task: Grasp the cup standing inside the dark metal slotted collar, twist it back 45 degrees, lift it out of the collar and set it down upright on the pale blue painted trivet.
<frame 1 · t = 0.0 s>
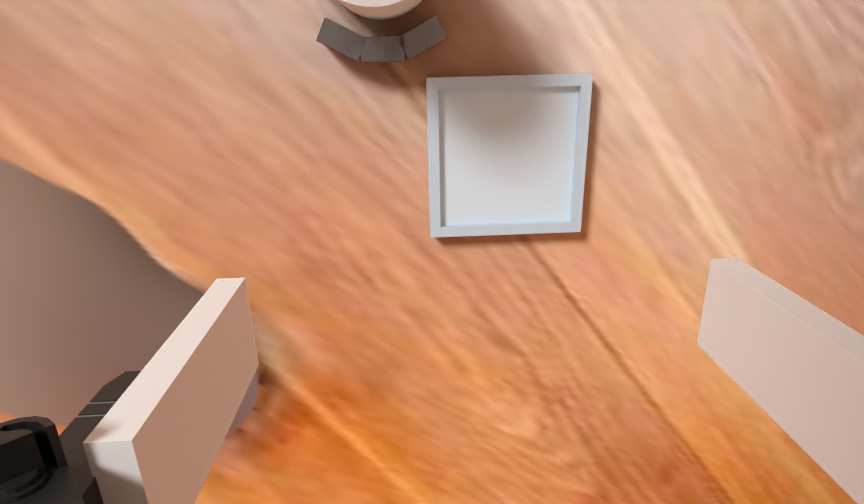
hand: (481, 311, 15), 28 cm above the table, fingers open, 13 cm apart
trivet: (504, 156, 42), on the table
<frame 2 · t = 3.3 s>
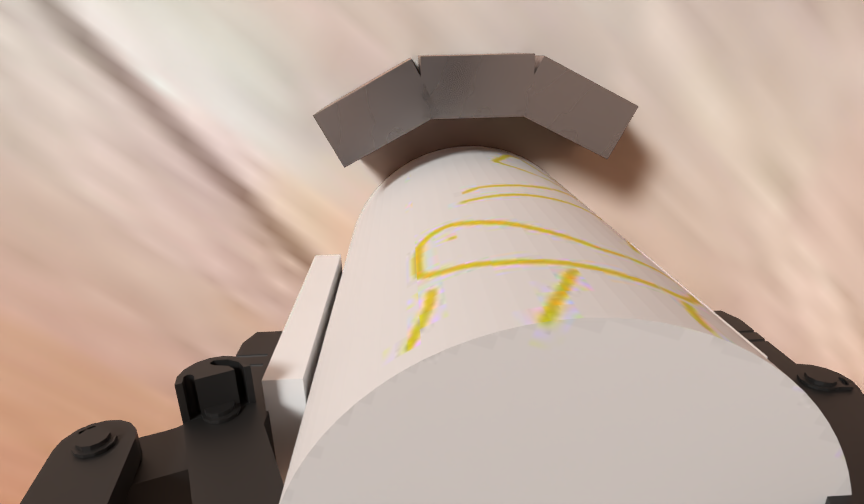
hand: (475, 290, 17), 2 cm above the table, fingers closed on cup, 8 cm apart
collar: (467, 262, 19), on the table
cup: (466, 261, 19), on the table, touching gripper
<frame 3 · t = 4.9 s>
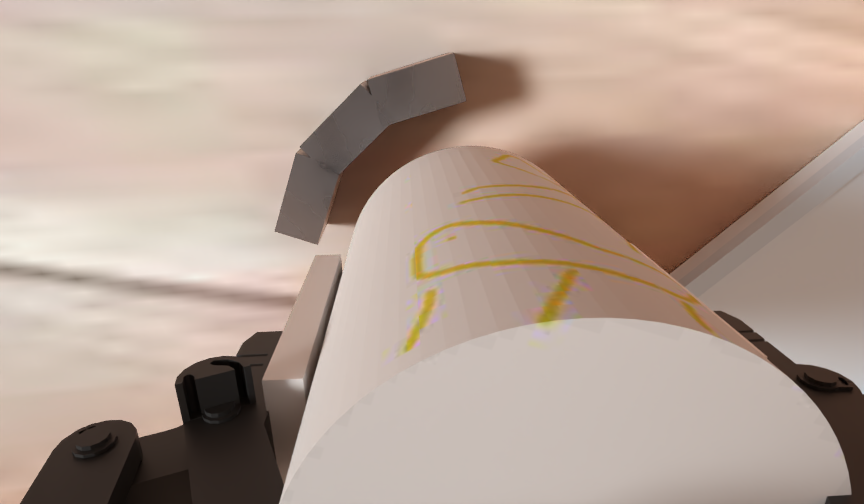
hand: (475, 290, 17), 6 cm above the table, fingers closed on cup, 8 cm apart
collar: (457, 230, 22), on the table
trivet: (808, 308, 25), on the table
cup: (466, 261, 19), point 4 cm above the table, touching gripper
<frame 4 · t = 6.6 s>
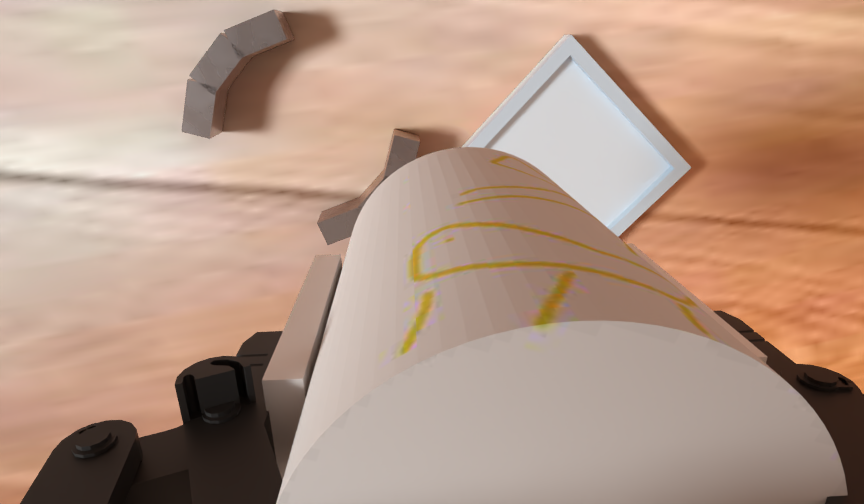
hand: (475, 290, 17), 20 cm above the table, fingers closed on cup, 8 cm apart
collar: (309, 130, 34), on the table
trivet: (558, 170, 36), on the table
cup: (465, 262, 19), point 18 cm above the table, touching gripper
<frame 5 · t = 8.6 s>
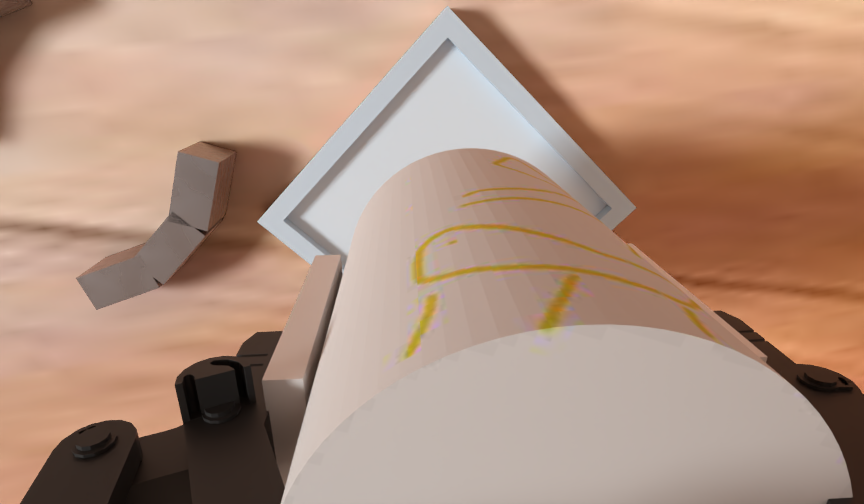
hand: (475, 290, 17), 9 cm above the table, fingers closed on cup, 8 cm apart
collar: (72, 141, 23), on the table
trivet: (447, 206, 25), on the table
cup: (466, 263, 19), point 7 cm above the table, touching gripper
when the fingers open (4 cm above the table, at t = 10.2 s): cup drops 1 cm, resting on trivet.
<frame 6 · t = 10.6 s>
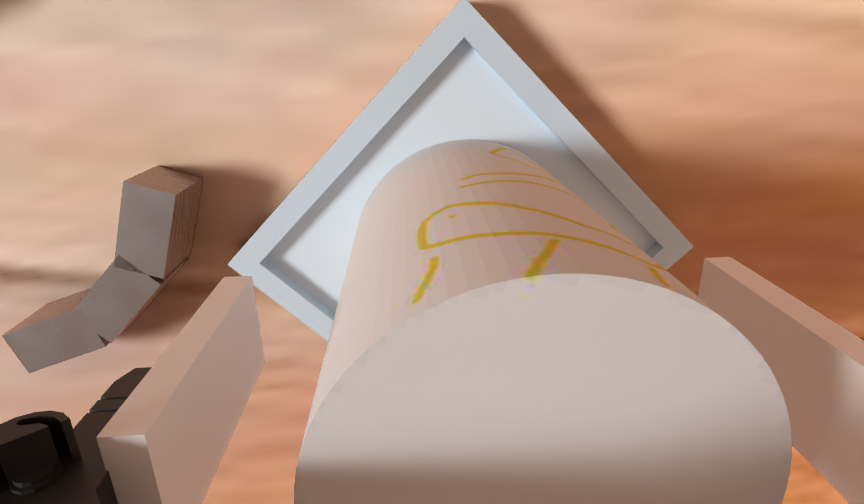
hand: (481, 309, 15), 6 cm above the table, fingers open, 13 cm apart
trivet: (460, 242, 21), on the table
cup: (464, 247, 20), point 1 cm above the table, touching trivet
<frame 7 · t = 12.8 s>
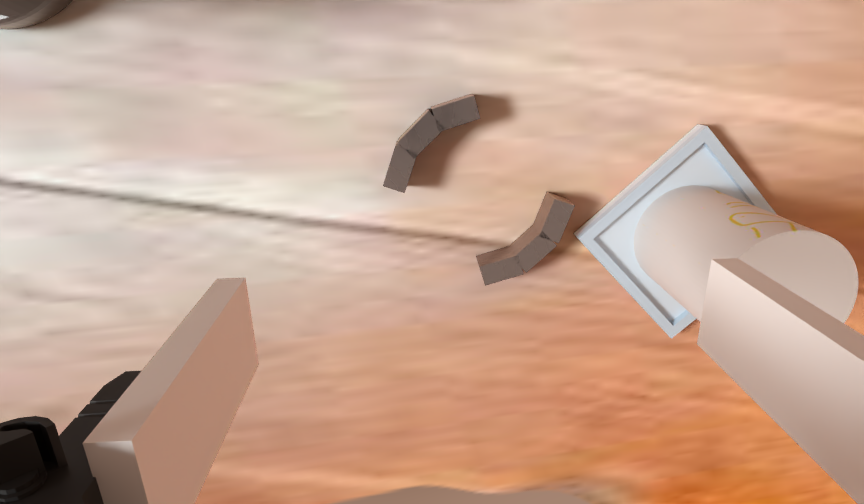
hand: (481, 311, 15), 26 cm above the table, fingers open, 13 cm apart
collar: (476, 188, 41), on the table
trivet: (679, 233, 43), on the table
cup: (684, 236, 42), point 1 cm above the table, touching trivet
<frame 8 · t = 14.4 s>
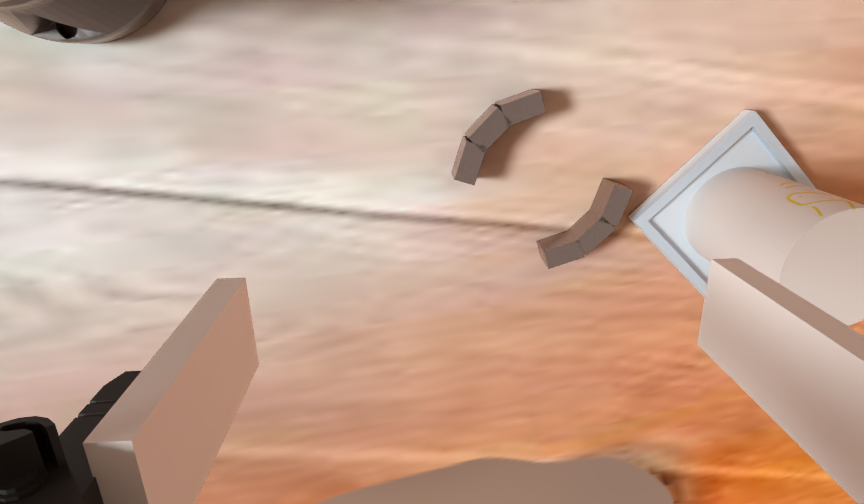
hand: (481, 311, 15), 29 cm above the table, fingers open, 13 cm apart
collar: (537, 178, 43), on the table
trivet: (726, 213, 45), on the table
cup: (731, 215, 45), point 1 cm above the table, touching trivet
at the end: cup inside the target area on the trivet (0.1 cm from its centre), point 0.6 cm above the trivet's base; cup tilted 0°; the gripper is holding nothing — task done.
